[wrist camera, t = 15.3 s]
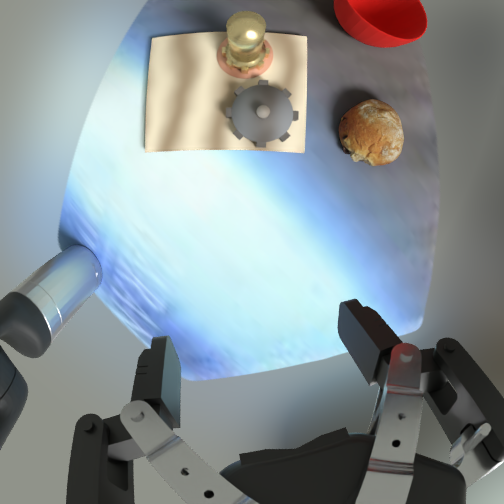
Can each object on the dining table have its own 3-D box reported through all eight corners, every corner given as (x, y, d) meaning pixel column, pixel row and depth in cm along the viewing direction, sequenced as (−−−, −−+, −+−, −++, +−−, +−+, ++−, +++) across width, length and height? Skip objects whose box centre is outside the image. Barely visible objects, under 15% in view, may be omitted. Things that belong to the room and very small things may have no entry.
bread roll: (383, 156, 40) (422, 152, 33) (347, 178, 37) (389, 175, 30) (362, 101, 37) (400, 90, 30) (321, 115, 34) (362, 100, 27)
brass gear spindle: (221, 73, 31) (214, 48, 21) (224, 36, 28) (218, 4, 19) (267, 74, 31) (275, 50, 21) (268, 37, 29) (276, 5, 19)
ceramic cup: (346, -27, 24) (367, -54, 15) (408, 45, 29) (442, 29, 20) (288, -8, 26) (299, -41, 17) (357, 69, 32) (387, 52, 22)
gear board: (148, 152, 36) (136, 153, 31) (155, 41, 29) (144, 30, 25) (302, 152, 37) (310, 153, 32) (304, 40, 30) (312, 27, 25)
